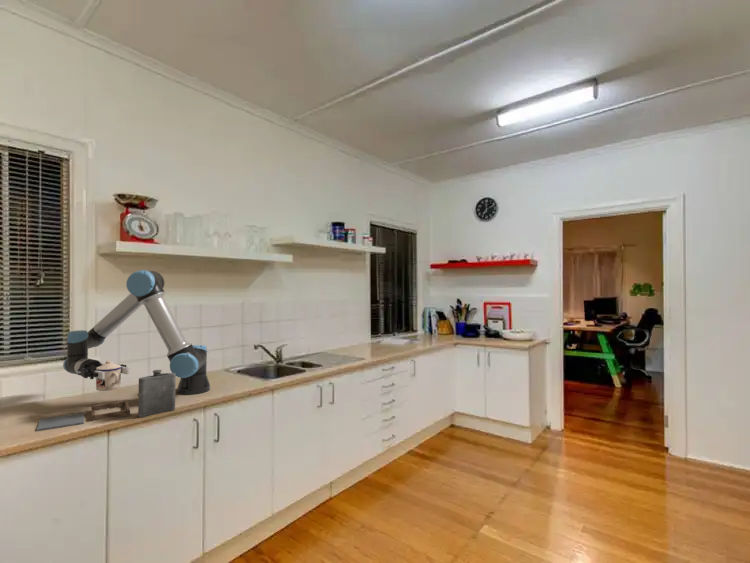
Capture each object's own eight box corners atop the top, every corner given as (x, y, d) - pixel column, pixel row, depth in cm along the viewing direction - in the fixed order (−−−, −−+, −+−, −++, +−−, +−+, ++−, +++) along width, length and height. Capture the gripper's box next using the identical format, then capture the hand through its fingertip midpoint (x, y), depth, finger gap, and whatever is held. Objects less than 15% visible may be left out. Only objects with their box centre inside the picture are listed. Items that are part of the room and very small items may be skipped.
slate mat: (84, 413, 167) (84, 412, 167) (83, 423, 156) (83, 422, 156) (40, 420, 159) (40, 418, 159) (36, 431, 148) (36, 429, 148)
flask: (136, 416, 165) (137, 372, 165) (172, 408, 176) (173, 367, 176) (139, 418, 163) (140, 373, 163) (176, 410, 173) (176, 368, 174)
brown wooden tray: (127, 405, 179) (127, 400, 179) (129, 415, 166) (130, 410, 166) (91, 410, 172) (91, 405, 172) (91, 421, 159) (91, 416, 159)
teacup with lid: (91, 389, 168) (91, 361, 168) (114, 384, 176) (114, 358, 176) (105, 393, 162) (105, 364, 162) (129, 388, 170) (129, 360, 170)
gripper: (114, 371, 188) (142, 377, 176) (59, 381, 169) (86, 388, 157) (114, 355, 188) (142, 359, 176) (59, 363, 169) (86, 369, 157)
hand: (116, 373), depth 167 cm, fingers closed on teacup with lid, 9 cm apart
